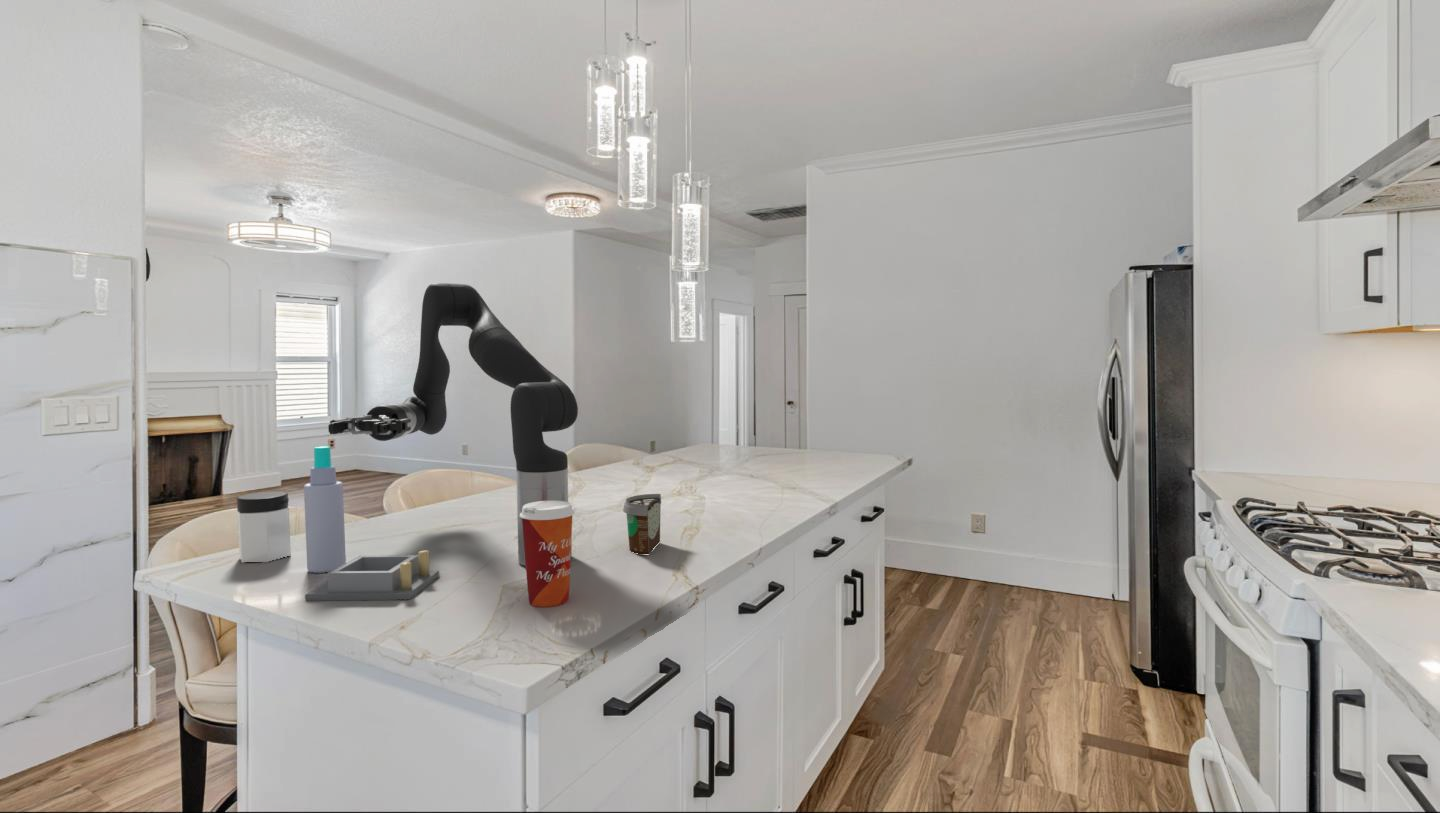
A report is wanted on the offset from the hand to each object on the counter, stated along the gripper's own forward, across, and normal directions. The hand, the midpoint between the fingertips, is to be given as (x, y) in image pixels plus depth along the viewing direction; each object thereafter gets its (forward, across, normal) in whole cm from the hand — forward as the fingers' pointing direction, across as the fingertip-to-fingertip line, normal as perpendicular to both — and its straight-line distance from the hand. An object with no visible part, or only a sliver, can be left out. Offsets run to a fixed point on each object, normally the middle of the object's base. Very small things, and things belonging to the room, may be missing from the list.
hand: (353, 428), depth 134 cm
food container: (-1, +55, +24) cm, 60 cm away
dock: (+22, +14, +24) cm, 36 cm away
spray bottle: (+11, 0, +24) cm, 27 cm away
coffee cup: (+29, +44, +24) cm, 58 cm away
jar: (+3, -16, +25) cm, 29 cm away
